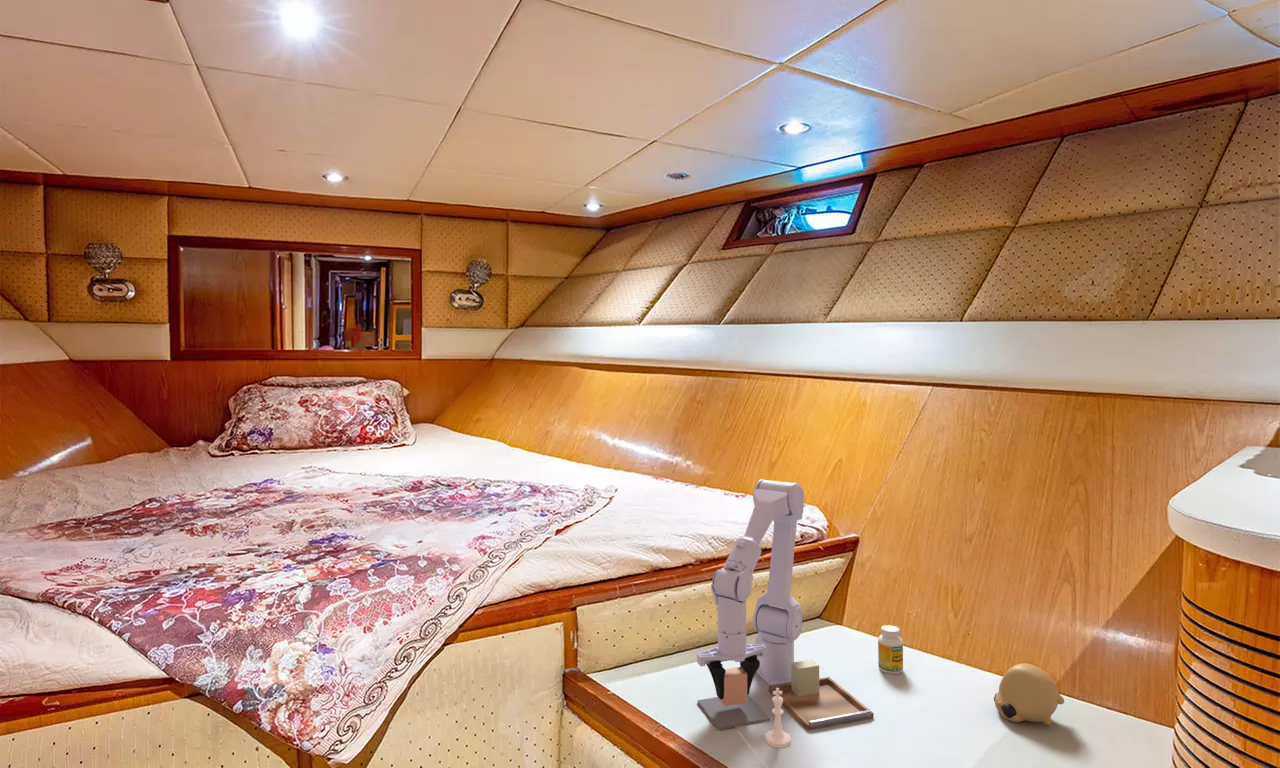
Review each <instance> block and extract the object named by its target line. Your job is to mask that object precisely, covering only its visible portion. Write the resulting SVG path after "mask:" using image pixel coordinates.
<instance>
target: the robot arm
mask: <svg viewBox="0 0 1280 768" xmlns="http://www.w3.org/2000/svg"><path fill="white" fill-rule="evenodd" d="M752 501H753V506H754V507H753V510H752V513H751V516H750V518H749V521H748V524H747V527H746V530H745V532H744V535H743V536H742V537H738V538H737V539H736V540H735V541H734V542H735V543H734V544H733V547H732V549H731V550H730V553H729V555H728V557H727V559H726V561H725V563H724V566H723V567H722V568H720V569H717V570H716V571H715V572H714V574H713V577H712V579H711V580H712V581H711V582H712V583H711V584H710V587H711V593H712V594H713V596H714V604H715V605H716V606H717V646H716V647H713V648H710V649H708V650H705V651H702V652H697V654H696V662H697V664H698V665H699V667H705V666H706V667H707V669H708V670H709V672H710V675H711V677H712V681H713V683H714V687H715V694H716V697H719V698H720V699H723V698H724V677H725V672H726V670H725V669H726V668H724V666H723V664H722V662H729V661H731V662H733V661H734V662H736V663H739V665H740V666H739V667H741V668H742V669H743V670H744V671H745V672H746V673H747V695H749V696H750V691H751V686H752V682H753V680H754V677H755V675H756V674H757V675H758V676H759V677H760V678H761V679H762V680H763V681H764V682H766V684H767V685H768V686H769V687H771V686H777V685H783V684H789V683H791V663H793V662H795V641H796V640H797V639H798V638H799V637H800V635H801V633H802V630H803V618H802V605H801V604H800V603H799V602H798V601H797V599H796V598H794V597H793V595H792V594H791V593H792V591H791V589H792V579H793V569H794V568H793V567H794V558H795V557H794V555H795V546H796V535H797V534H796V533H797V525H798V521H800V520H802V519H803V513H804V505H805V492H804V489H803V488H802V486H801V484H800V483H799V482H787V481H786V482H785V481H778V480H768V479H764V478H761V479H759V480H758V481H757V482H756V483H755V486H754V489H753V492H752ZM772 522H773V533H772V534H773V535H772V541H771V542H772V544H771V553H770V554H771V556H770V563H769V574H768V586H767V592H765V593H764V594H762V595H760V596H759V597H758V598H757V600H756V604H755V609H754V611H753V614H752V625H753V627H754V628H753V629H754V630H755V631H756V632H758V633H757V635H756V637H755V641H754V644H753V643H752V644H751V643H750V644H749V643H747V599H748V598H749V596H750V595H751V591H752V585H753V580H754V575H753V573H754V571H755V568H756V566H757V563H758V561H759V559H760V556H761V554H762V548H761V545H760V543H761V541H762V540H763V538H764V537H765V535H766V534H767V531H768V529H769V528H770V526H771V524H772Z"/></svg>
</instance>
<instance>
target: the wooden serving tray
mask: <svg viewBox="0 0 1280 768" xmlns="http://www.w3.org/2000/svg"><path fill="white" fill-rule="evenodd" d="M776 688H779V691H782V694H779V696H780V697H782V698H783V702H782V705H781V706H782V707H783V708H785V710H787V711H788V712H789V713H790V715H792V717H794V718H795V719H796V720H797V722H799V724H801V725H802V726H803V728H805V730H807V731H813V730H818V729H823V728H830V727H834V726H840V725H845V724H849V723H854V722H861V721H865V720H871V719H874V712H873V711H871V710H870V708H868V707H867V706H866V705H864V704H863V703H862V702H860V700H858V699H857V698H856V697H854V696H853V695H852V694H851V693H850V692H848V691H847V690H845V688H843V687H842V686H841V685H839V684H838V683H837V682H836V681H834V680H833V679H832V678H831V677H830V676H827V677H822V678H821V677H819V693H818V694H812V695H806V696H800V697H798V696H797V695H796V694H795V693H794V692H793V691H792V690H791V683H786V684H780V685H774V686H768V692H769V693H770V694H771V695H772V697H774V696H776V695H773V691H776Z"/></svg>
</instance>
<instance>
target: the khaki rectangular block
mask: <svg viewBox="0 0 1280 768" xmlns="http://www.w3.org/2000/svg"><path fill="white" fill-rule="evenodd" d="M819 678H820V664H818V663H817V662H815V660H813V659H807V660H801V661H794V662H793V663H791V690H792V691H793V692H794V693H795V694H796V695H797V696H798V697H800V696H806V695H812V694H818V693H819Z"/></svg>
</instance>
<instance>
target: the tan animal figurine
mask: <svg viewBox="0 0 1280 768" xmlns="http://www.w3.org/2000/svg"><path fill="white" fill-rule="evenodd" d="M993 701H994V702H993V703H994V706H995V708H996V709H997V710H996V711H998V712H999V714H1000V715H1001V716H1002V717H1003V718H1004V719H1006V720H1007V721H1010V722H1013V723H1021V722H1025V721H1027V722H1032V723H1041V722H1042V723H1044V724H1045V725H1047V726H1050V725H1051V724H1052V722H1053V719H1052V715H1053V714H1054V713H1055V712H1056V710H1057V709H1058V705H1064V703H1065V698H1064V697H1063V696H1062V695H1061V694H1060V693H1059V689H1058V686H1057V684H1056V682H1055V681H1054V679H1053V678H1052V676H1050V675H1049V674H1048V673H1047V672H1046V671H1044V669H1041V668H1040V667H1038V666H1036V665H1034V664H1030V663H1026V662H1025V663H1018V664H1015V665H1013V666H1011V667H1010V668H1009V669H1008V670H1006V672H1005V674H1004V675H1003V677H1002V678H1001V680H1000V682H999V687H998V692H996V693H994V696H993Z"/></svg>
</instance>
